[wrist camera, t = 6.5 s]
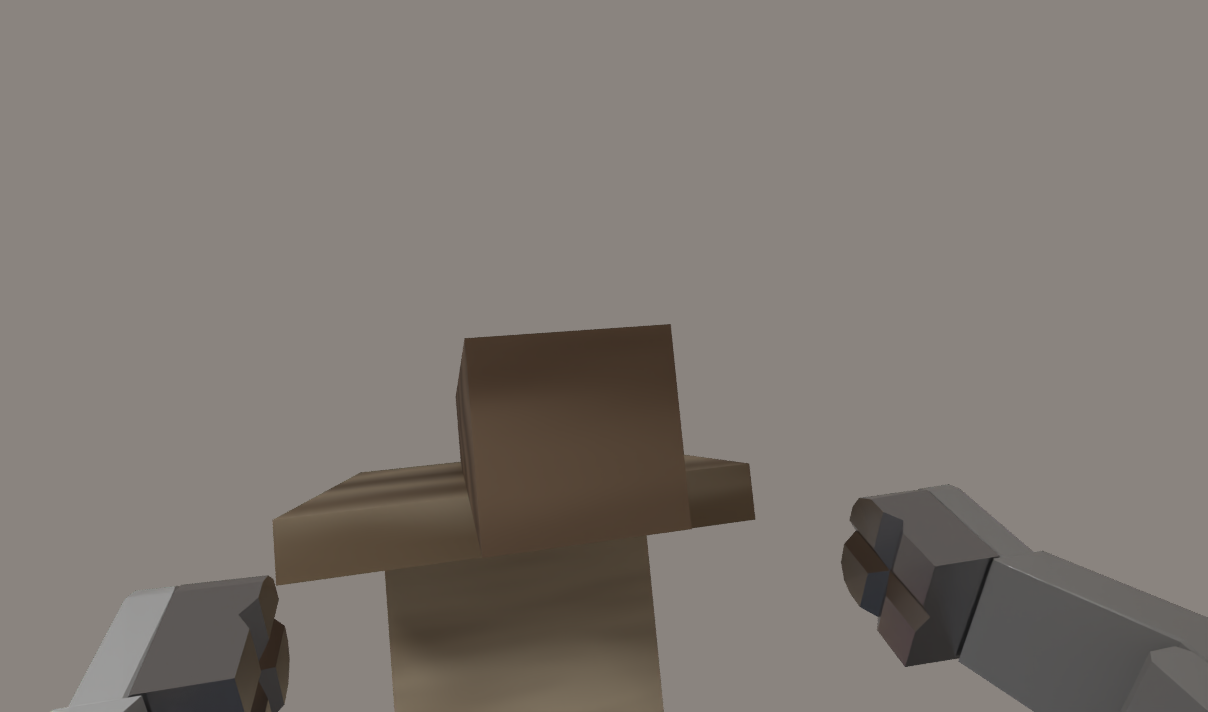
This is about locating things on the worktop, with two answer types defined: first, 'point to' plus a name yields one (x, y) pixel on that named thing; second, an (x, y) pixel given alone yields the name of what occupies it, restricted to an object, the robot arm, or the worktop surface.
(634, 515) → the block
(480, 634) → the stand
